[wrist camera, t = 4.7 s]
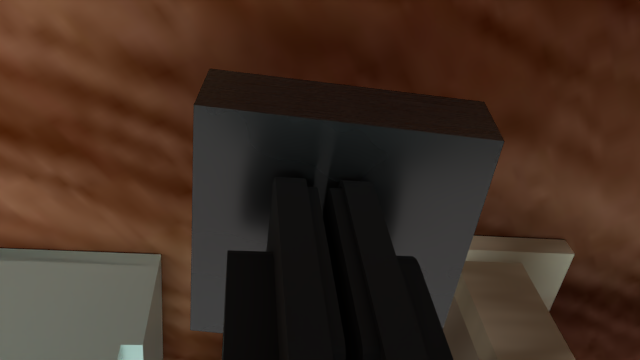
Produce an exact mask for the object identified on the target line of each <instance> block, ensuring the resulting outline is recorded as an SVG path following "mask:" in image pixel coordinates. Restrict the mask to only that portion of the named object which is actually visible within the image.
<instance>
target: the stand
mask: <svg viewBox="0 0 640 360" xmlns="http://www.w3.org/2000/svg"><path fill="white" fill-rule="evenodd" d="M574 255H575V254H574V252H573V251H572V249H571V248H570V246H569V245H568V244H567V242H566V241H565V240H557V239H535V238H513V237H492V236H473V239H472V242H471V245H470V248H469V251H468V254H467V257H466V260H465V263H464V266H463V269H462V272H461V275H460V278H459V281H458V285H457V288H456V291H455V294H454V297H453V300H452V303H451V306H450V309H449V312H448V315H447V318H446V321H445V324H444V327H443V332H444V334H445V337H446V340H447V343H448V345H449V348H450V351H451V354H452V357H453V359H454V360H576V359H575V358H574V356H573V354H572V352H571V350H570V349H569V347H568V345H567V343H566V341H565V340H564V338H563V336H562V334H561V332H560V331H559V329H558V327H557V325H556V324H555V322H554V320H553V318H552V316H551V315H550V313H549V311H550V308H551V306H552V304H553V302H554V299H555V297H556V295H557V293H558V290H559V288H560V286H561V284H562V282H563V279H564V277H565V275H566V273H567V270H568V268H569V266H570V264H571V261H572V259H573V257H574Z"/></svg>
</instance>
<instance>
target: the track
mask: <svg viewBox="0 0 640 360" xmlns="http://www.w3.org/2000/svg"><path fill="white" fill-rule="evenodd" d="M503 144H504V140H503V138H502V136H501V134H500V132H499V130H498V128H497V126H496V124H495V122H494V120H493V118H492V116H491V114H490V112H489V110H488V108H487V106H486V104H485V103H484V102H481V101H473V100H465V99H457V98H448V97H440V96H432V95H423V94H415V93H407V92H399V91H390V90H382V89H374V88H366V87H357V86H349V85H341V84H332V83H324V82H316V81H308V80H299V79H291V78H283V77H274V76H266V75H258V74H250V73H241V72H233V71H225V70H217V69H209V71H208V73H207V76H206V78H205V80H204V83H203V85H202V87H201V89H200V92H199V94H198V96H197V99H196V101H195V103H194V125H193V191H192V258H191V324H190V330H195V331H205V332H216V333H223V324H224V304H225V284H226V266H227V250H234V251H266V250H267V239H268V229H269V219H270V209H271V199H272V189H273V181H274V177H285V178H305V179H306V181H307V187H317V188H318V192H319V197H320V203H321V209H322V214H324V208H325V201H326V195H327V191H328V189H329V188H338V186H339V183H340V181H341V180H344V181H364V182H372V183H373V185H374V187H375V191H376V194H377V197H378V200H379V203H380V206H381V209H382V213H383V216H384V219H385V222H386V225H387V228H388V232H389V235H390V238H391V241H392V244H393V247H394V250H395V254H396V256H413V257H415V258H416V259H417V261H418V263H419V265H420V268H421V270H422V273H423V276H424V279H425V282H426V284H427V287H428V290H429V293H430V295H431V298H432V301H433V304H434V307H435V309H436V312H437V315H438V318H439V320H440V323H441V326H442V329H443V327H444V324H445V321H446V318H447V315H448V312H449V309H450V306H451V303H452V300H453V297H454V294H455V291H456V288H457V285H458V281H459V278H460V275H461V272H462V269H463V266H464V263H465V260H466V257H467V254H468V251H469V248H470V245H471V242H472V239H473V236H474V232H475V229H476V226H477V223H478V220H479V217H480V214H481V211H482V208H483V205H484V202H485V199H486V196H487V193H488V190H489V187H490V183H491V180H492V177H493V174H494V171H495V168H496V165H497V162H498V159H499V156H500V153H501V150H502V147H503Z"/></svg>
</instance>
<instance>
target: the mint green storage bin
mask: <svg viewBox="0 0 640 360" xmlns="http://www.w3.org/2000/svg"><path fill="white" fill-rule="evenodd" d="M0 360H163V330H162V278H161V254H136V253H110V252H84V251H58V250H32V249H6V248H0Z"/></svg>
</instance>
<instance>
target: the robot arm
mask: <svg viewBox="0 0 640 360" xmlns="http://www.w3.org/2000/svg"><path fill="white" fill-rule="evenodd" d="M222 360H454V359H453V357H452V354H451V351H450V348H449V345H448V343H447V340H446V337H445V334H444V332H443V329H442V326H441V323H440V320H439V318H438V315H437V312H436V309H435V307H434V304H433V301H432V298H431V295H430V293H429V290H428V287H427V284H426V282H425V279H424V276H423V273H422V270H421V268H420V265H419V263H418V261H417V259H416V258H415V257H413V256H396V254H395V250H394V247H393V244H392V241H391V238H390V235H389V232H388V228H387V225H386V222H385V219H384V216H383V213H382V209H381V206H380V203H379V200H378V197H377V194H376V191H375V187H374V185H373V183H372V182H364V181H344V180H341V181H340V183H339V186H338V188H329V189H328V191H327V195H326V201H325V208H324V214H322V209H321V203H320V197H319V192H318V188H317V187H307V181H306V179H305V178H285V177H274V181H273V189H272V199H271V209H270V219H269V229H268V239H267V250H266V251H234V250H227V266H226V284H225V304H224V324H223V347H222Z"/></svg>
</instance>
